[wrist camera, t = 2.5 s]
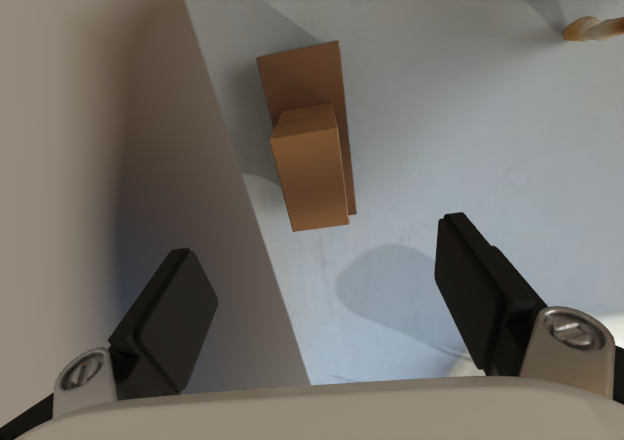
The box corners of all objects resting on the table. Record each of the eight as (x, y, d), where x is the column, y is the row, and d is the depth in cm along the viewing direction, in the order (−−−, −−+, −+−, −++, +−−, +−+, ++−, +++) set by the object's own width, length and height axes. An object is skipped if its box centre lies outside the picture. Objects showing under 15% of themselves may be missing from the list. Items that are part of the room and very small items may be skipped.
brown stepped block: (352, 195, 28) (368, 264, 19) (298, 203, 28) (290, 274, 20) (335, 39, 21) (348, 42, 12) (264, 54, 21) (229, 67, 13)
